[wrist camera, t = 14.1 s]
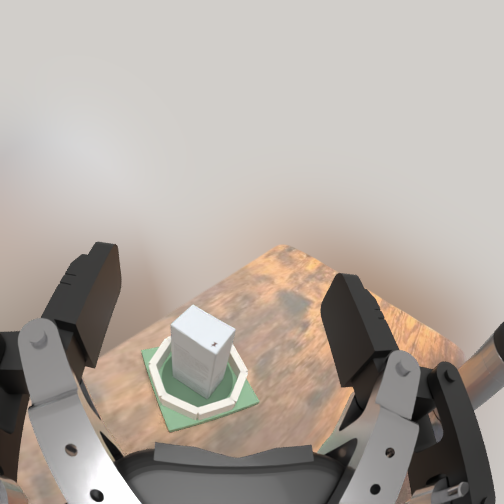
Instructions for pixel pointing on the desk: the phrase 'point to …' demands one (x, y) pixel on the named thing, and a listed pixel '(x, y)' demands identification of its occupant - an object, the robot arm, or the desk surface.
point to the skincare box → (200, 350)
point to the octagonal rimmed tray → (190, 402)
